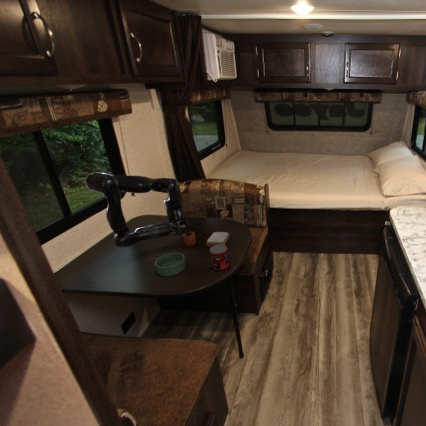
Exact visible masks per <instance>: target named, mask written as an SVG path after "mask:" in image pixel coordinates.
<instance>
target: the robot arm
mask: <svg viewBox="0 0 426 426" xmlns="http://www.w3.org/2000/svg"><path fill="white" fill-rule="evenodd" d="M84 183H85V186H86V188H87V189H88V190H90V191H92V192H94V193H98V194H102V195H103V196H104V197H105V199H106V201H107V209H106V213H105V215H106V220H107V223H108V225H109V228H110V230H111V231H112V232H113V235H114V237H113V238H114V239H113V240H114V241H113V242H114V245H115V246H116V247H118V248H129V247H132V246H133V245H136V244H138V243H140V242H143V241H148V240H154V239H159V238H164V237H168V236H170V234H171V236H177V235H184V233H186V230H190V231H191V230H193V227H192V225H191V224H190V219H189V218H188V222H189V226H185V222H184V217H183V215H185V213H184V209H183V204H182V192H181V184H180V183H179V181H178V180H177V179H176V178H169V177H159V178H153V177H148V176H145V175H144V176H143V175H128V174H127V175H125V174H124V175H118V174H117V175H116V174H109V173H104V172H99V171H98V172H97V171H96V172H92V173H90V174H89V175H88V176H86V178H85V179H84ZM121 192H122V193H128V194H129V193H130V194H148V193H150V192H156V193H162V194H168V196H169V197H167V198H165V199H164V200H163V205H164V208H165V212H166V217H167V221H168V223H167V221H164V222H159V223H154V224H151V225H147V226H142V227H138V228H136V229H135V231H134V232H131V231H130V228H129V226H128V225H127V220H126V217H125V214H124V212H123V211H124V210H123V206H122V199H121Z"/></svg>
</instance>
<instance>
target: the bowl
mask: <svg viewBox="0 0 426 426" xmlns="http://www.w3.org/2000/svg"><path fill="white" fill-rule="evenodd" d="M154 267H155V270H156V273H157V275H159V276H161V277H171V276H175V275H177V274H180V273H181V272H183V271H184V270H185V269H186V268H187V261H186V256H185V254H184V253H182V252H180V251H173V252H167V253H164V254H162V255H159V257H157V258H156V259H155V261H154Z"/></svg>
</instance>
